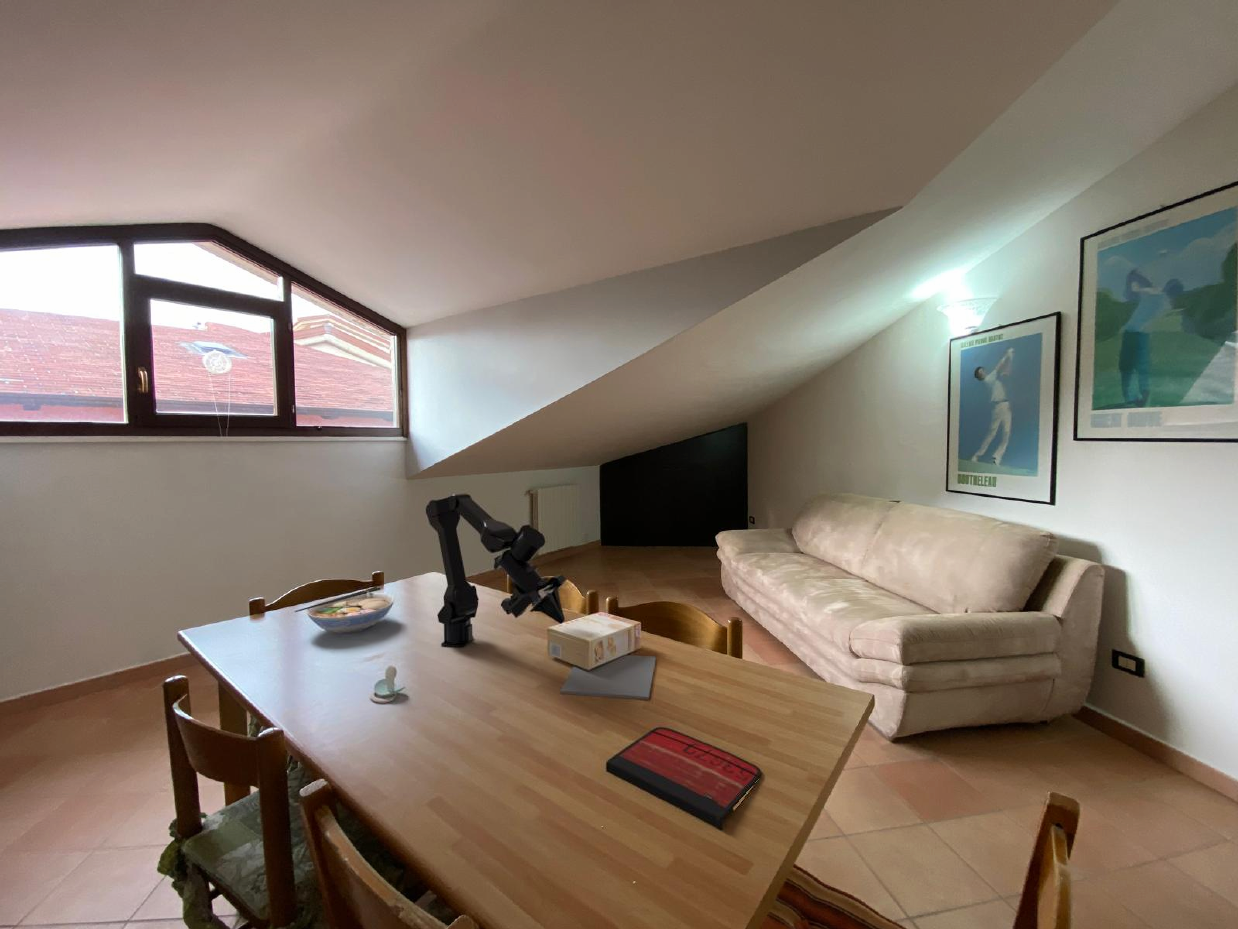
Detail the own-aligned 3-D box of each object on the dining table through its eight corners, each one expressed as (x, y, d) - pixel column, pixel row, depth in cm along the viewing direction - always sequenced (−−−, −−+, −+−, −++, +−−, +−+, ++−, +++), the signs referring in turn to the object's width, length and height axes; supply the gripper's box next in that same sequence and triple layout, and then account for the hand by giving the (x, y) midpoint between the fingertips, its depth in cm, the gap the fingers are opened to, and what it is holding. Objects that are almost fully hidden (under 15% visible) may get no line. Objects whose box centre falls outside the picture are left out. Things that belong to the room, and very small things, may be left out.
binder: (721, 818, 70) (605, 760, 83) (721, 834, 70) (604, 774, 83) (766, 764, 83) (658, 721, 95) (765, 779, 83) (658, 734, 95)
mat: (560, 693, 108) (560, 690, 108) (581, 654, 128) (581, 652, 128) (648, 699, 106) (648, 697, 106) (655, 659, 125) (655, 657, 125)
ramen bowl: (330, 652, 130) (329, 621, 130) (286, 635, 142) (285, 606, 142) (415, 623, 151) (414, 596, 151) (370, 610, 163) (369, 585, 163)
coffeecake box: (588, 671, 116) (641, 649, 131) (589, 640, 116) (641, 621, 131) (546, 655, 126) (600, 636, 141) (546, 626, 126) (600, 610, 141)
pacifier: (383, 708, 103) (409, 695, 108) (381, 679, 103) (408, 666, 108) (363, 698, 107) (389, 686, 112) (361, 670, 107) (387, 659, 112)
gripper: (519, 582, 131) (557, 629, 128) (477, 604, 114) (521, 659, 111) (546, 554, 128) (586, 602, 126) (508, 572, 111) (554, 628, 108)
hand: (563, 622), depth 118 cm, fingers closed
